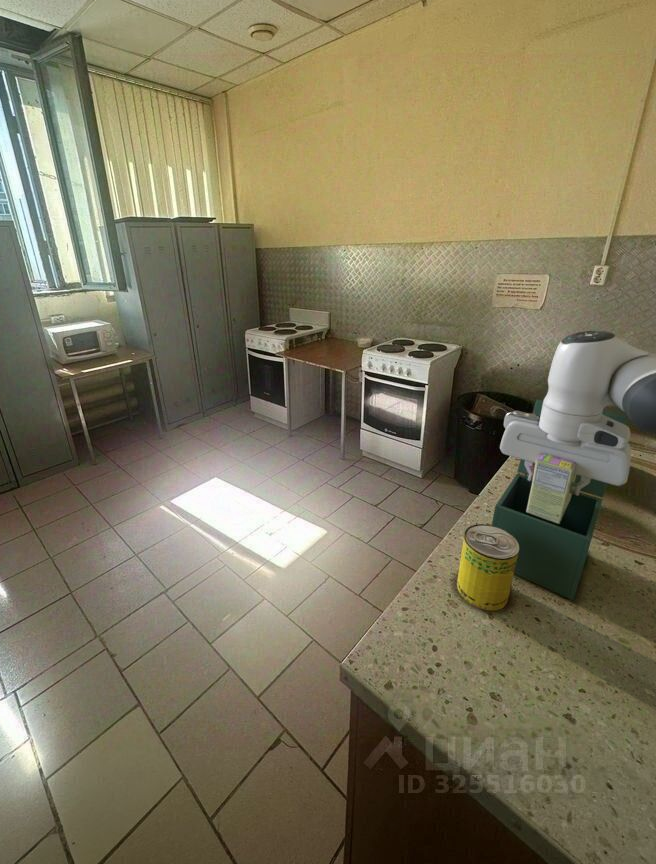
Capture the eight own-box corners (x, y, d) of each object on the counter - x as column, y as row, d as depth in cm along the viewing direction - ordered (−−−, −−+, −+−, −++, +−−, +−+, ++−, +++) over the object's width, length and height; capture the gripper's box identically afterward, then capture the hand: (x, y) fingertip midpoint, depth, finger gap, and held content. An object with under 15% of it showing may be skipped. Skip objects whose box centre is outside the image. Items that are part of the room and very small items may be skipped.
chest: (573, 600, 73) (591, 540, 68) (485, 560, 83) (495, 505, 78) (586, 553, 84) (602, 499, 79) (507, 523, 94) (517, 473, 89)
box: (538, 489, 83) (549, 439, 79) (570, 499, 79) (583, 447, 75) (524, 512, 76) (535, 459, 72) (558, 525, 72) (572, 469, 68)
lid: (626, 416, 77) (626, 416, 77) (536, 399, 86) (537, 399, 87) (603, 497, 78) (603, 497, 79) (517, 471, 88) (517, 471, 89)
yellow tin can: (512, 615, 70) (524, 563, 66) (458, 604, 73) (466, 552, 69) (503, 577, 78) (513, 528, 74) (455, 568, 81) (462, 520, 77)
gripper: (501, 413, 75) (490, 475, 80) (639, 443, 63) (616, 515, 68) (510, 403, 80) (500, 463, 85) (641, 430, 67) (620, 498, 72)
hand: (553, 486), depth 76 cm, fingers closed on box, 5 cm apart
